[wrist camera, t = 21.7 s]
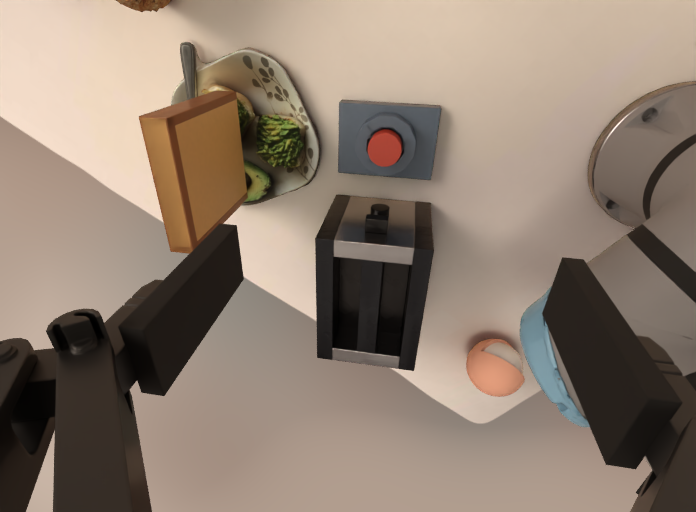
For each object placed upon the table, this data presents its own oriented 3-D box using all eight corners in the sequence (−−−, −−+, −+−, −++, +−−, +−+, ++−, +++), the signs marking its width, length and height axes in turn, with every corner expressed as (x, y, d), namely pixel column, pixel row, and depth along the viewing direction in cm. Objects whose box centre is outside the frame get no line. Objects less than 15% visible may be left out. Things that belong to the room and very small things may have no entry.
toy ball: (528, 352, 59) (543, 395, 52) (483, 373, 62) (491, 416, 55) (497, 319, 56) (508, 359, 50) (453, 342, 60) (457, 383, 53)
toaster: (432, 190, 48) (436, 235, 38) (414, 309, 58) (414, 371, 48) (336, 182, 50) (315, 224, 39) (334, 300, 59) (317, 358, 49)
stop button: (403, 130, 42) (403, 134, 41) (400, 163, 44) (399, 168, 42) (370, 128, 42) (368, 132, 41) (368, 160, 44) (366, 165, 43)
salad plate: (136, 69, 46) (110, 74, 42) (266, 2, 41) (250, 0, 37) (220, 213, 54) (204, 228, 51) (336, 173, 49) (329, 186, 45)
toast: (236, 91, 41) (166, 118, 30) (248, 197, 47) (194, 254, 36) (215, 90, 41) (138, 116, 30) (230, 196, 48) (170, 251, 36)
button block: (440, 105, 43) (442, 111, 40) (430, 175, 47) (431, 185, 44) (341, 99, 44) (336, 105, 41) (340, 168, 48) (335, 177, 46)
